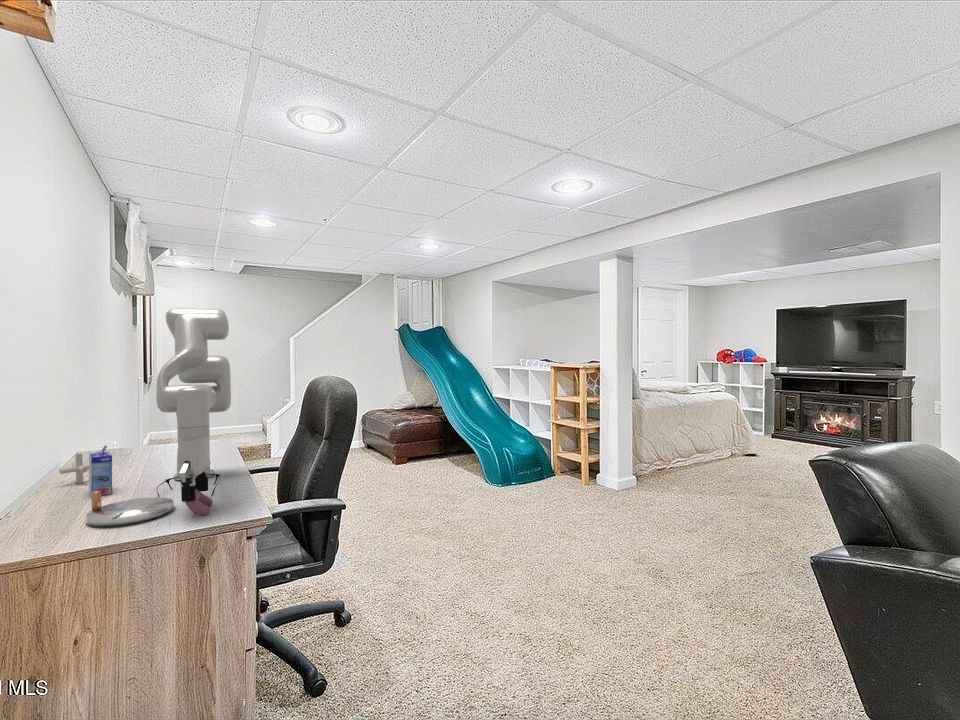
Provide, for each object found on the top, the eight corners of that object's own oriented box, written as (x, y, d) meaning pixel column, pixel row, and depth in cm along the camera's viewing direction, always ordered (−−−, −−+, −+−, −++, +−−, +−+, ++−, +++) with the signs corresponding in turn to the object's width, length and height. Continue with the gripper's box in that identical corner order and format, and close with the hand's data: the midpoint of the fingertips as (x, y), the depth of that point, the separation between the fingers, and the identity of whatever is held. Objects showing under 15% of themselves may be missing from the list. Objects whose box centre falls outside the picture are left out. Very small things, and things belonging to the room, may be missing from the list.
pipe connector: (92, 477, 172) (92, 449, 172) (103, 481, 166) (102, 452, 166) (56, 484, 164) (55, 454, 164) (65, 488, 158) (64, 458, 158)
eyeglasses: (222, 484, 162) (221, 472, 162) (217, 497, 147) (217, 484, 147) (163, 490, 155) (163, 478, 155) (153, 504, 141) (152, 491, 141)
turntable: (111, 505, 138) (110, 482, 138) (185, 500, 142) (184, 478, 141) (68, 529, 119) (67, 502, 119) (154, 522, 123) (153, 497, 123)
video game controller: (198, 512, 137) (184, 491, 136) (214, 502, 139) (201, 482, 137) (193, 523, 128) (179, 501, 127) (211, 513, 130) (196, 491, 128)
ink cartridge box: (113, 494, 151) (112, 447, 151) (91, 497, 147) (89, 450, 147) (110, 487, 158) (109, 443, 158) (88, 491, 155) (87, 445, 154)
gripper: (191, 428, 140) (192, 488, 140) (164, 438, 123) (166, 507, 123) (219, 427, 141) (221, 486, 142) (196, 437, 124) (198, 504, 124)
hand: (195, 495), depth 132 cm, fingers closed on video game controller, 8 cm apart
